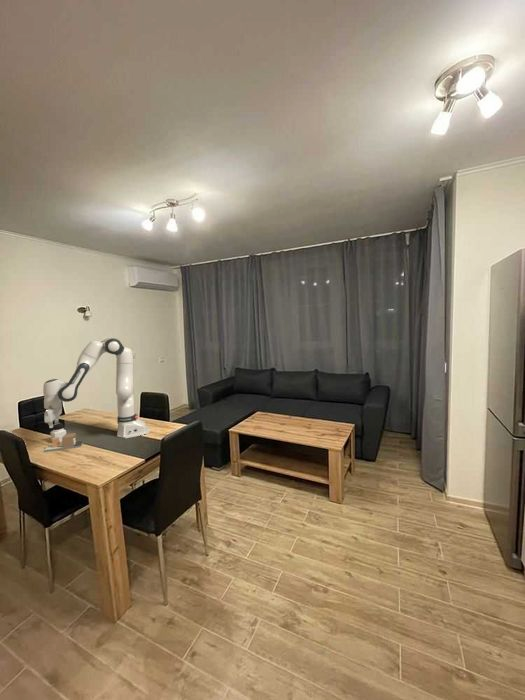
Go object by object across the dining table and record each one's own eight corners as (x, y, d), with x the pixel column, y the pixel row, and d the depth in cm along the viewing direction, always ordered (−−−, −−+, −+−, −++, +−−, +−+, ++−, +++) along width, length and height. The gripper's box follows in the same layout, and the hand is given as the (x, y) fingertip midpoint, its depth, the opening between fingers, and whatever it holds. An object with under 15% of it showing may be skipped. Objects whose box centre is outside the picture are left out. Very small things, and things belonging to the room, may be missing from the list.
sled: (75, 442, 194) (75, 434, 193) (74, 444, 190) (73, 437, 190) (54, 445, 190) (54, 437, 189) (52, 447, 186) (51, 439, 186)
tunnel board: (83, 442, 197) (82, 431, 196) (80, 447, 190) (79, 436, 189) (48, 447, 190) (47, 435, 190) (44, 452, 183) (43, 440, 182)
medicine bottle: (67, 440, 202) (65, 423, 201) (55, 443, 196) (54, 426, 195) (62, 437, 206) (61, 421, 205) (51, 441, 200) (49, 424, 199)
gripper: (52, 408, 177) (54, 430, 178) (63, 400, 196) (64, 419, 197) (40, 409, 175) (41, 431, 176) (52, 401, 194) (53, 420, 195)
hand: (54, 425), depth 187 cm, fingers open, 8 cm apart
